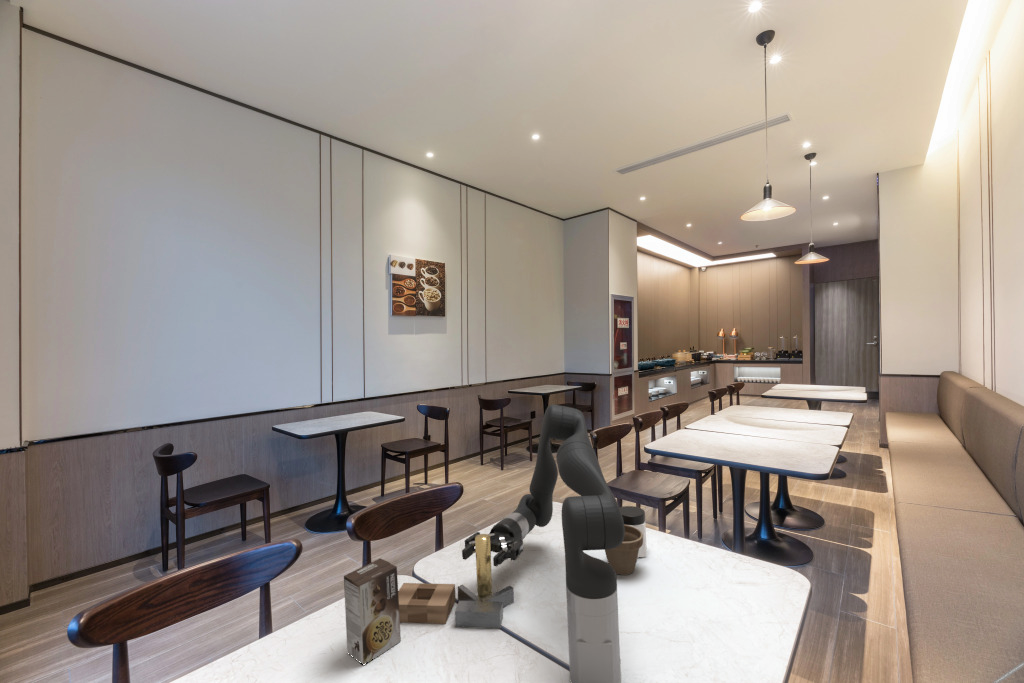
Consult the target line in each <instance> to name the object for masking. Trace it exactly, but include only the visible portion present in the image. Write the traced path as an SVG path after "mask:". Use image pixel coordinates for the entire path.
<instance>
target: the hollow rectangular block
mask: <svg viewBox="0 0 1024 683" xmlns="http://www.w3.org/2000/svg"><path fill="white" fill-rule="evenodd" d="M456 596H457V595H456V584H455V583H426V582H425V583H424V582H423V583H422V582H418V583H417V582H404V583H403V584H402V585H401V586H400V588H398V597H399V616H400V623H408V624H409V623H410V624H411V623H413V624H440V625H444V624H445V625H446V624H447V622H448V620H449V618H450V615H451V612H452V610H453V608H454V606H455V603H456V600H457V599H456Z"/></svg>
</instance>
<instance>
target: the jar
mask: <svg viewBox="0 0 1024 683" xmlns="http://www.w3.org/2000/svg"><path fill="white" fill-rule="evenodd" d="M619 508H620V511H621V514H622V517H623V521H624V525H629V526H632V527H635V528H637V529H639V530H640V531H641V532H642V533H643V544H642V546H641V547H640V548H639V552H638V557H637V559H640V558H639V557H643V558H646V557H647V549H648V548H647V529H646V528H647V527H646V526H647V525H646V512H645V510H644V509H643V508H641V507H638V506H633V505H632V506H631V505H624V506H621V507H620V506H619Z"/></svg>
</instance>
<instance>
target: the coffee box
mask: <svg viewBox="0 0 1024 683" xmlns="http://www.w3.org/2000/svg"><path fill="white" fill-rule="evenodd" d="M343 585H344V589H343V590H344V607H345V608H344V609H345V629H346V652H348V653H349V654H350V655H352V656H353V657H354V658H355V659H357V660H358V661H360V662H361V663H362V664H365V663H367V662H369V661H370V662H372V661H373V660H375V659H376V658H377V656H378V657H380V656H381V655H382V654H384V653H386V651H388V650H390V649H391V648H393V647H394V646H396V645H397V644H399V643H401V641H402V638H401V626H400V625H401V622H400V616H399V597H398V591H399V582H398V567H397V566H396V565H394V564H392V563H391V562H389V561H387V560H385V559H382V558H378V559H376V560H373V561H372V562H370V563H368V564H365V565H363V566H362V567H360V568H357V569H355V570H353V571H351V572H349V573H347V574H345V575H344V576H343ZM348 653H347V654H348ZM349 654H348V655H349ZM350 655H349V656H350ZM354 658H353V659H354ZM374 658H375V659H374ZM355 659H354V660H355ZM372 659H373V660H372ZM371 660H372V661H371ZM358 661H357V662H358ZM370 662H369V663H370Z"/></svg>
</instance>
